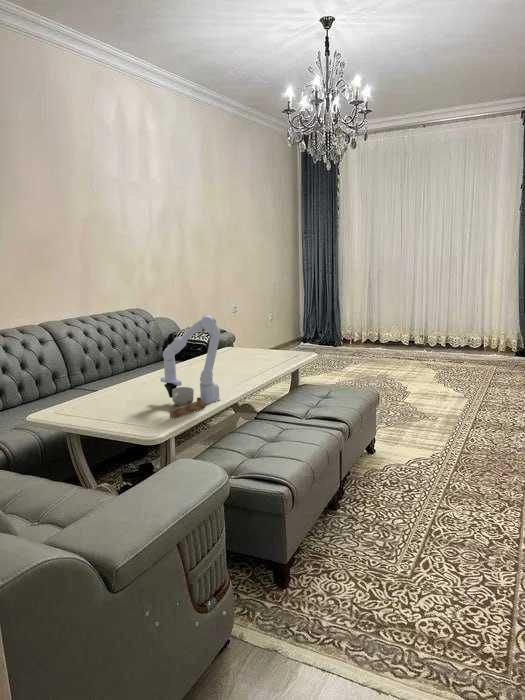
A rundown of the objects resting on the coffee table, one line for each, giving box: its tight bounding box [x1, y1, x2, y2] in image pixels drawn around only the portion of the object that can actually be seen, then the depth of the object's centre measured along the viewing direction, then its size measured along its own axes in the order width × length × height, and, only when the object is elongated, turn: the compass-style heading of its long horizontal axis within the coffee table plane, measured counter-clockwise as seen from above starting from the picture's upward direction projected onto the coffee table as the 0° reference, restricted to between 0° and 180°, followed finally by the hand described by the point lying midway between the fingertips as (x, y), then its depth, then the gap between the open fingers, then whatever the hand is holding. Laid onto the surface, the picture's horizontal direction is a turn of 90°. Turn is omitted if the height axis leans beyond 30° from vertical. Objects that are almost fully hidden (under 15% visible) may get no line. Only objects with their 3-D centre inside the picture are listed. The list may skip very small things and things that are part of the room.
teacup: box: [172, 386, 195, 407], centre depth 269 cm, size 14×11×8 cm
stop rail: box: [169, 396, 206, 420], centre depth 258 cm, size 20×4×5 cm, turn 137°
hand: (171, 397), depth 274 cm, fingers closed
